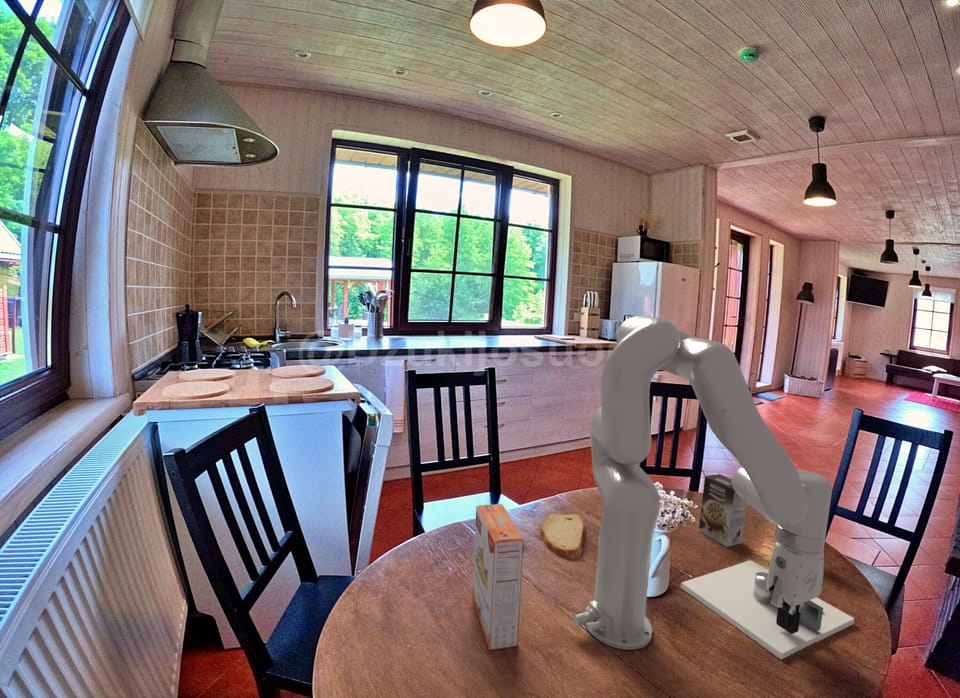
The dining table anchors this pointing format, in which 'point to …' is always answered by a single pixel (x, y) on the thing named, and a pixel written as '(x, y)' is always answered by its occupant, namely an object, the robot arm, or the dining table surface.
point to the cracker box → (497, 576)
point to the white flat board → (759, 609)
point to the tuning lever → (809, 614)
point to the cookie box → (722, 511)
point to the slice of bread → (564, 534)
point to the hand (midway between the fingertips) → (786, 628)
